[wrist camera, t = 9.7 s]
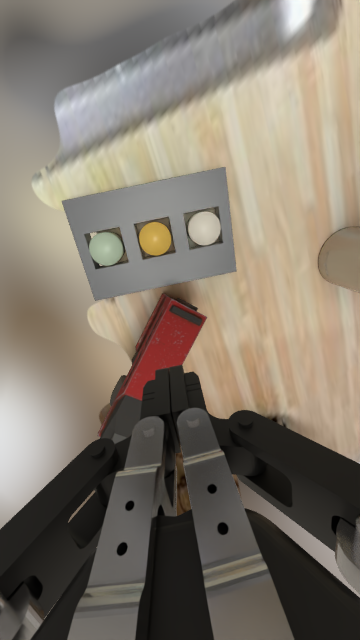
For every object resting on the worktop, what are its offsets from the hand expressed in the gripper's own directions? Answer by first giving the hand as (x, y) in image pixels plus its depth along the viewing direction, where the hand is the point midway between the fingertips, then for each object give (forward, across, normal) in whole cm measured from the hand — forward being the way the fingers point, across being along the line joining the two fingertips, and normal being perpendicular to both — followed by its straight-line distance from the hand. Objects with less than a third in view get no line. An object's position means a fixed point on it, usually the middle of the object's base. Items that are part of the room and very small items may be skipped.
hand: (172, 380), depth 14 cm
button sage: (+28, +7, -6) cm, 30 cm away
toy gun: (+29, +5, +12) cm, 32 cm away
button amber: (+28, 0, -6) cm, 29 cm away
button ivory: (+28, -7, -6) cm, 30 cm away
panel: (+29, 0, -6) cm, 30 cm away
